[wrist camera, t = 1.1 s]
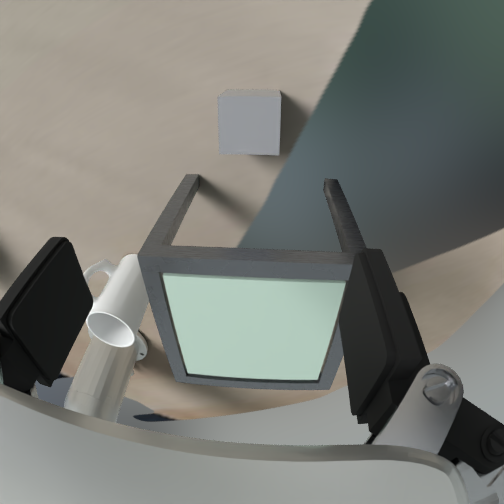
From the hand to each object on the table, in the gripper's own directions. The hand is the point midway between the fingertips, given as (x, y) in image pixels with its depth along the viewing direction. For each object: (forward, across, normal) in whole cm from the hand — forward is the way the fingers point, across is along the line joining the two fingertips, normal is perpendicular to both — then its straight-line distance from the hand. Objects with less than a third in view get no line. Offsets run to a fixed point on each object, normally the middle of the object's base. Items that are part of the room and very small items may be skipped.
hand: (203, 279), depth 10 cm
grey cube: (+26, 0, 0) cm, 27 cm away
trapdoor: (+11, -1, +16) cm, 20 cm away
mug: (+26, +18, +21) cm, 38 cm away
